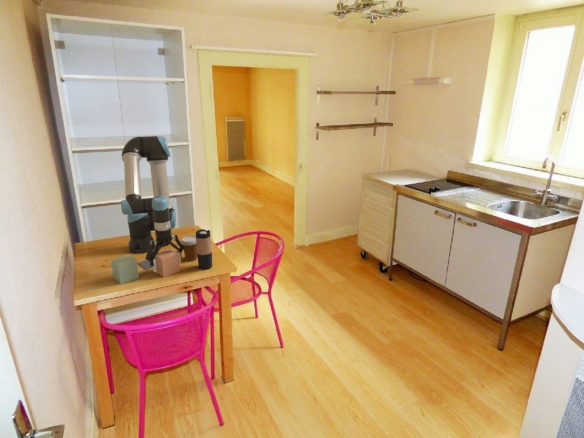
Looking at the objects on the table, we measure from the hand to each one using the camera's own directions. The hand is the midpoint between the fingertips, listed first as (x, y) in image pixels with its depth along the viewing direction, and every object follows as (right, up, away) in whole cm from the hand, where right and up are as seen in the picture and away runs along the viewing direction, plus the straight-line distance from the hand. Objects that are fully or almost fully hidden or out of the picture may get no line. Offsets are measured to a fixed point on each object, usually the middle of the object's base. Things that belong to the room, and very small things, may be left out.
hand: (167, 267), depth 191 cm
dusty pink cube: (0, -2, +1) cm, 2 cm away
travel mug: (+18, -1, +6) cm, 19 cm away
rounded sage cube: (-18, -4, -6) cm, 20 cm away
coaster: (-12, +1, +9) cm, 15 cm away
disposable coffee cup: (+8, +3, +16) cm, 18 cm away
